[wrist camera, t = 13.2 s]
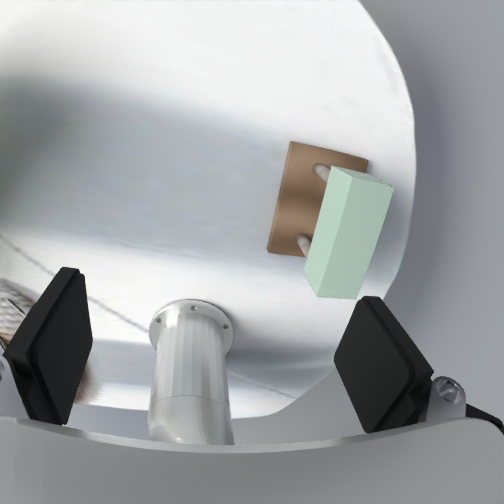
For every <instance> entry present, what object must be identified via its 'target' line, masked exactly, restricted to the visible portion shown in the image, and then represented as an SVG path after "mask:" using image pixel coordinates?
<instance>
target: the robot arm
mask: <svg viewBox="0 0 504 504" xmlns="http://www.w3.org/2000/svg"><path fill="white" fill-rule="evenodd" d="M149 338H150V342H151V344H152V346H153V348H154V349H155V350H156V358H155V365H154V373H153V380H152V388H151V397H150V405H149V413H148V431H149V435H150V437H151V440H152V441H148V440H140V439H132V438H125V437H119V436H112V435H106V434H100V433H94V432H89V431H84V430H79V429H74V428H69V427H65V426H62V424H64V425H66V424H67V422H68V419H69V415H70V412H71V408H72V405H73V402H74V399H75V395H76V392H77V389H78V386H79V383H80V380H81V377H82V374H83V371H84V368H85V365H86V362H87V359H88V356H89V353H90V351H91V348H92V342H93V338H92V331H91V324H90V317H89V310H88V302H87V294H86V284H85V276H84V274H80V271H79V269H76V268H69V267H62V268H61V269H60V270H59V271H58V273H57V274H56V276H55V277H54V278H53V280H52V281H51V283H50V284H49V285H48V287H47V288H46V290H45V291H44V292H43V294H42V295H41V297H40V298H39V300H38V301H37V303H35V304H34V305H33V306H32V308H31V309H30V311H29V312H28V314H27V316H26V317H25V319H24V320H23V322H22V323H21V325H20V326H19V328H18V330H17V331H16V333H15V335H14V336H13V338H12V340H11V341H10V343H9V345H8V346H7V348H6V350H5V351H4V353H3V355H2V356H1V355H0V504H504V426H503V423H502V421H501V420H500V419H498V418H496V417H494V416H492V415H490V414H488V413H486V412H483V411H481V410H479V409H477V408H475V407H473V406H471V405H469V404H466V394H465V392H464V389H463V388H462V387H461V386H460V384H459V383H457V382H456V381H455V380H453V379H451V378H449V377H445V376H440V377H436V378H435V379H434V380H433V381H432V380H431V379H430V377H431V376H432V374H433V373H434V371H433V369H432V368H431V366H430V365H429V364H428V362H427V360H426V359H425V358H424V356H423V355H422V353H421V352H420V351H419V349H418V348H417V346H416V345H415V344H414V342H413V341H412V340H411V338H410V337H409V336H408V334H407V333H406V331H405V330H404V329H403V327H402V326H401V325H400V323H399V322H398V321H397V319H396V318H395V317H394V315H393V314H392V313H391V311H390V310H389V309H388V307H387V306H386V305H385V303H384V302H383V301H382V300H381V298H380V297H377V296H364V297H362V299H361V300H359V301H358V302H357V304H356V306H355V308H354V311H353V313H352V316H351V318H350V320H349V323H348V325H347V328H346V330H345V332H344V334H343V337H342V339H341V341H340V344H339V346H338V348H337V350H336V352H335V355H334V363H335V365H336V368H337V370H338V372H339V374H340V377H341V379H342V381H343V383H344V386H345V388H346V390H347V393H348V395H349V397H350V399H351V402H352V404H353V406H354V409H355V411H356V413H357V415H358V418H359V420H360V423H361V425H362V427H363V430H364V431H365V432H366V433H368V434H364V435H358V436H351V437H344V438H338V439H329V440H321V441H311V442H301V443H288V444H272V445H235V443H234V437H233V430H232V421H231V411H230V402H229V392H228V382H227V372H226V361H225V355H226V354H227V353H228V351H229V350H230V348H231V347H232V344H233V339H234V333H233V327H232V324H231V322H230V320H229V318H228V317H227V316H226V314H225V313H224V312H223V311H221V310H220V309H219V308H217V307H215V306H213V305H211V304H209V303H206V302H203V301H197V300H181V301H175V302H172V303H170V304H167V305H166V306H164V307H162V308H161V309H160V310H158V311H157V312H156V313H155V315H154V316H153V318H152V320H151V323H150V327H149Z"/></svg>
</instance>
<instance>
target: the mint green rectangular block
mask: <svg viewBox="0 0 504 504" xmlns="http://www.w3.org/2000/svg"><path fill="white" fill-rule="evenodd" d="M393 190H394V187H392V186H390V185H388V184H387V183H385V182H383V181H381V180H379V179H377V178H375V177H373V176H372V175H369V174H365V173H361V172H357V171H353V170H349V169H345V168H341V167H336V166H331V170H330V174H329V178H328V182H327V186H326V190H325V194H324V198H323V202H322V206H321V210H320V213H319V217H318V221H317V225H316V228H315V232H314V236H313V239H312V243H311V246H310V250H309V254H308V257H307V261H306V264H305V268H304V271H303V272H304V274H305V276H306V278H307V280H308V282H309V283H310V285H311V287H312V289H313V291H314V293H315V295H316V297H323V298H340V299H356V298H357V295H358V293H359V290H360V288H361V285H362V282H363V280H364V277H365V275H366V272H367V269H368V266H369V264H370V261H371V258H372V255H373V252H374V250H375V247H376V244H377V241H378V238H379V235H380V232H381V229H382V226H383V223H384V220H385V216H386V213H387V210H388V207H389V204H390V200H391V197H392V194H393Z"/></svg>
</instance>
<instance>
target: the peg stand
mask: <svg viewBox="0 0 504 504" xmlns="http://www.w3.org/2000/svg"><path fill="white" fill-rule="evenodd" d="M367 164H368V160H366V159H364V158H360V157H357V156H353V155H349V154H345V153H341V152H337V151H333V150H328V149H324V148H320V147H315V146H311V145H306V144H301V143H297V142H292V141H290V144H289V149H288V154H287V159H286V163H285V168H284V173H283V178H282V182H281V187H280V192H279V196H278V201H277V205H276V210H275V215H274V219H273V224H272V228H271V233H270V237H269V242H268V247H267V250H268V253H274V254H283V255H292V256H301V257H306V258H307V257H308V254H309V250H310V246H311V243H312V239H313V236H314V232H315V228H316V225H317V221H318V217H319V213H320V210H321V206H322V202H323V198H324V194H325V190H326V186H327V182H328V178H329V174H330V170H331V166H336V167H341V168H345V169H349V170H353V171H357V172H361V173H365V172H366V168H367Z"/></svg>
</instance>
